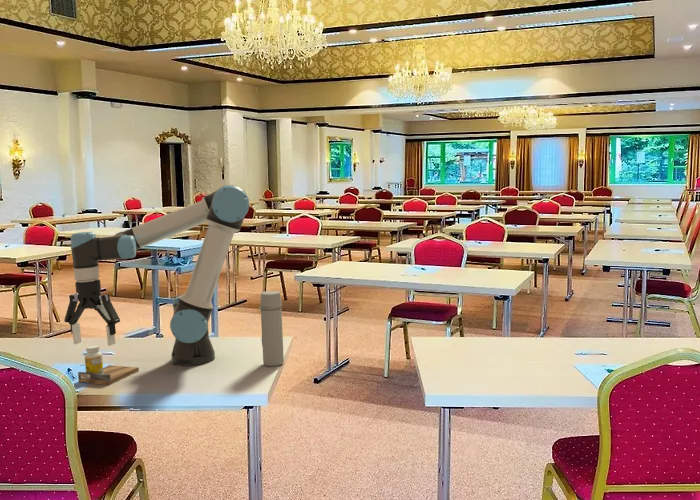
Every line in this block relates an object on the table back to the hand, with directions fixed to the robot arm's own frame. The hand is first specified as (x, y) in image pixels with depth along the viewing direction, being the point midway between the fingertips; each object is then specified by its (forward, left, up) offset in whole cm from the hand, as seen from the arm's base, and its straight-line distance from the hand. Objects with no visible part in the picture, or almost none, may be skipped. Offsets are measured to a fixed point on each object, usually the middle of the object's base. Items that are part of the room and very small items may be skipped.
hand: (94, 344), depth 214 cm
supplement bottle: (0, 0, -11) cm, 11 cm away
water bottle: (-50, -29, -12) cm, 59 cm away
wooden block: (-3, -3, -12) cm, 12 cm away
